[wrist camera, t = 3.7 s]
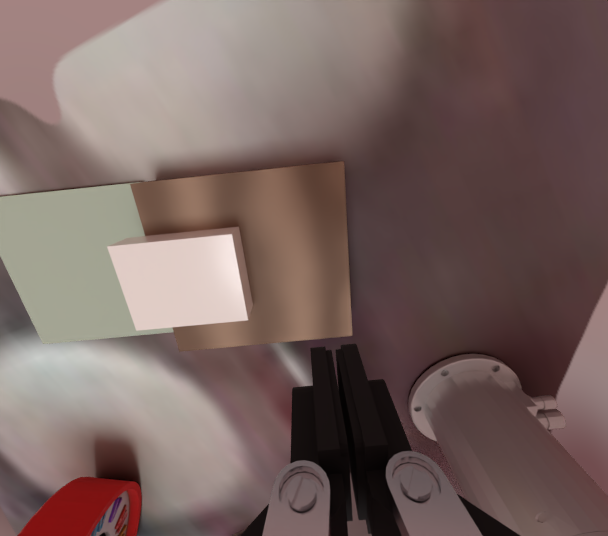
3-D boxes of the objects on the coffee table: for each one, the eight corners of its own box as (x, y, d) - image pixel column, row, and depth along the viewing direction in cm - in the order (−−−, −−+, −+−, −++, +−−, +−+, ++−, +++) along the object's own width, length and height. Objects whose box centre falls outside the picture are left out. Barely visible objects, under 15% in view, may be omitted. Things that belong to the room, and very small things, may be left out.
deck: (337, 161, 25) (344, 161, 21) (345, 314, 30) (352, 335, 26) (155, 180, 25) (129, 183, 22) (194, 328, 31) (179, 351, 27)
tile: (238, 226, 23) (231, 234, 20) (253, 305, 25) (248, 320, 23) (126, 237, 23) (106, 246, 21) (151, 315, 25) (136, 330, 23)
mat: (143, 181, 25) (141, 182, 25) (184, 329, 31) (183, 331, 30) (-23, 199, 26) (-28, 199, 25) (46, 341, 31) (43, 344, 31)
